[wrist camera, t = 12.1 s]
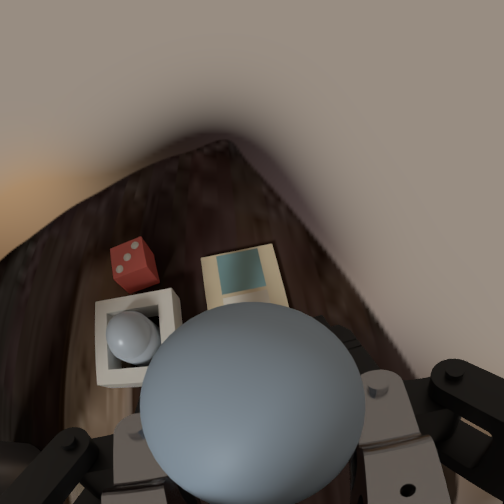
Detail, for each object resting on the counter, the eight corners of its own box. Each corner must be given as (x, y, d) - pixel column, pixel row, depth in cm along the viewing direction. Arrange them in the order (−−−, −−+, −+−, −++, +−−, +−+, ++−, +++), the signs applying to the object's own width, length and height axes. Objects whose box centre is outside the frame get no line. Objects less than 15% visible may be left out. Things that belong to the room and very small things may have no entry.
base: (111, 388, 25) (97, 384, 23) (108, 311, 30) (95, 301, 27) (190, 381, 26) (181, 378, 23) (179, 298, 30) (171, 287, 28)
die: (129, 294, 31) (113, 279, 27) (124, 265, 33) (109, 248, 29) (160, 282, 31) (146, 266, 28) (153, 254, 33) (140, 235, 30)
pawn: (225, 455, 11) (110, 555, 2) (210, 369, 13) (77, 271, 4) (320, 437, 11) (446, 504, 2) (300, 352, 14) (364, 216, 4)
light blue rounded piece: (123, 368, 26) (95, 358, 21) (121, 323, 28) (95, 306, 24) (166, 363, 26) (144, 353, 21) (162, 317, 29) (141, 298, 24)
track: (233, 444, 22) (232, 446, 22) (202, 261, 32) (200, 257, 32) (317, 427, 23) (319, 428, 22) (272, 247, 33) (271, 243, 32)
